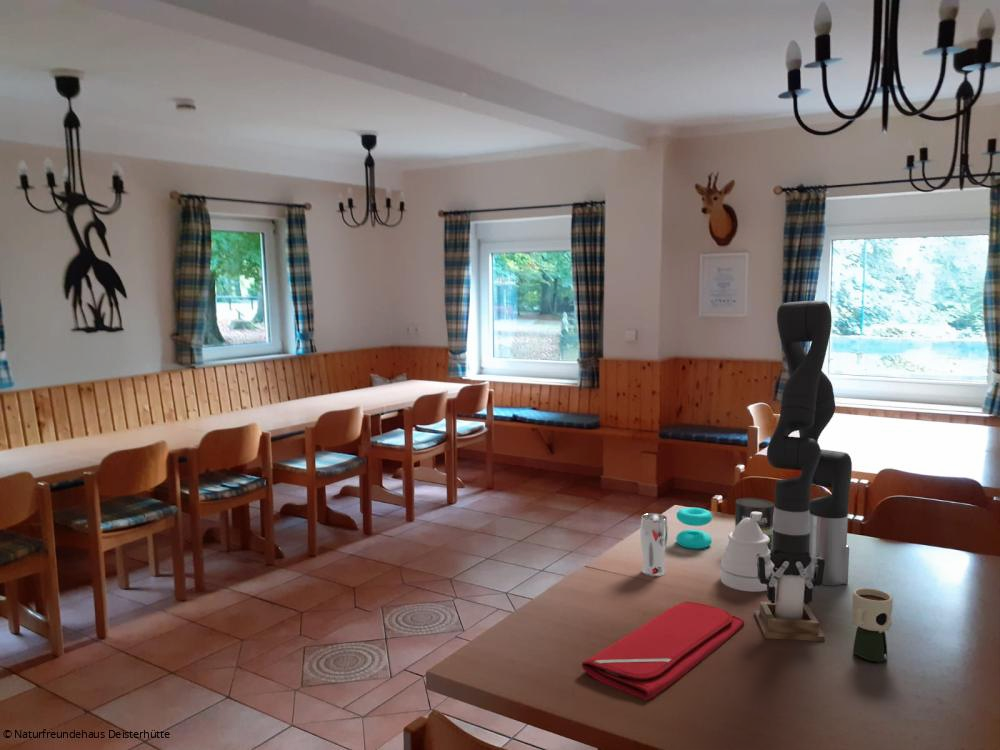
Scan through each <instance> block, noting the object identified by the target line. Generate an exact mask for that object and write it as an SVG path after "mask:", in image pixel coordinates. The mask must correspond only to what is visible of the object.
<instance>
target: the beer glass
mask: <svg viewBox="0 0 1000 750" xmlns="http://www.w3.org/2000/svg"><path fill="white" fill-rule="evenodd" d="M640 517H641V520H640V542H641V543H640V544H641V549H642V554H643V557H642V558H643V561H642V562H643V563H642V568H641V573H642V574H643V573H644V575H645V574H646V576H648V575H649V576H648V577H654V576H657V577H662V575H663V576H664V575H666V568H665V553H666V549H667V544H668V536H669V535H668V534H669V533H668V532H669V530H668V517H667V515H665V514H660V513H645V514H642V515H641V516H640Z"/></svg>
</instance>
